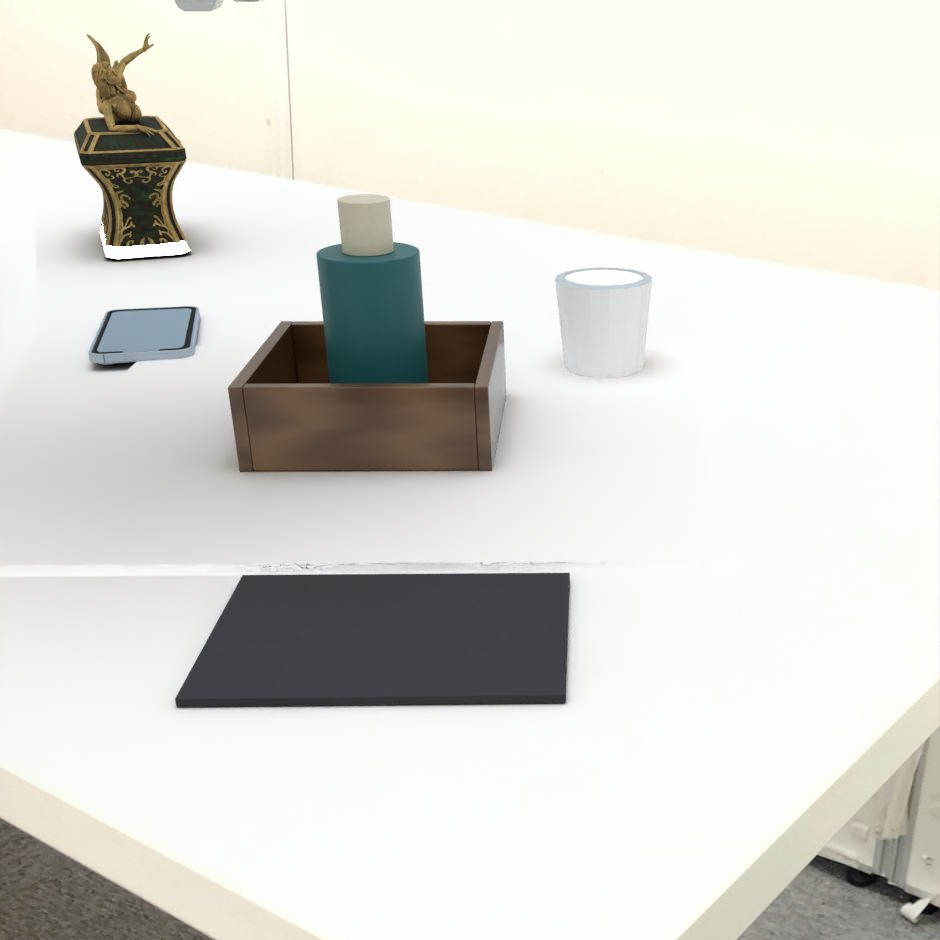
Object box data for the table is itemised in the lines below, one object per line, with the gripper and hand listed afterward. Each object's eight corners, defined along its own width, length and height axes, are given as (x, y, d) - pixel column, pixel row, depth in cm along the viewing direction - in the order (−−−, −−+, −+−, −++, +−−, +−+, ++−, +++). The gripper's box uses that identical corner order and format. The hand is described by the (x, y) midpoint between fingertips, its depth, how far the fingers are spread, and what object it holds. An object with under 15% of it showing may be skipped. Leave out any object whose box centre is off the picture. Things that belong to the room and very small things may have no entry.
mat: (176, 707, 55) (174, 698, 54) (243, 581, 65) (242, 574, 65) (565, 703, 55) (565, 694, 55) (569, 579, 66) (569, 572, 66)
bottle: (327, 446, 81) (301, 207, 74) (343, 414, 86) (320, 189, 80) (426, 445, 81) (409, 207, 75) (436, 414, 86) (421, 189, 80)
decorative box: (204, 258, 130) (172, 37, 121) (99, 266, 127) (58, 39, 117) (183, 222, 146) (154, 25, 137) (90, 228, 143) (53, 26, 134)
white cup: (668, 379, 96) (670, 281, 92) (584, 393, 93) (583, 291, 89) (622, 356, 101) (622, 262, 98) (541, 368, 98) (538, 271, 95)
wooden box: (240, 481, 77) (227, 387, 75) (290, 403, 90) (281, 321, 88) (492, 480, 78) (488, 386, 75) (506, 402, 91) (503, 320, 88)
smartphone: (200, 305, 110) (193, 349, 97) (201, 317, 111) (194, 362, 98) (105, 309, 109) (86, 355, 96) (107, 321, 109) (88, 368, 96)
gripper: (174, -316, 65) (214, -4, 72) (15, -412, 47) (87, 16, 54) (303, -314, 66) (332, -3, 72) (194, -409, 48) (245, 17, 54)
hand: (226, 6), depth 63 cm, fingers open, 8 cm apart
